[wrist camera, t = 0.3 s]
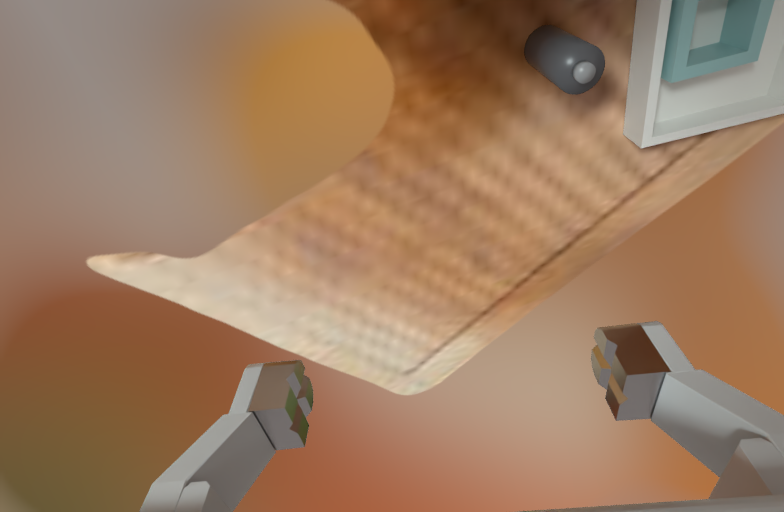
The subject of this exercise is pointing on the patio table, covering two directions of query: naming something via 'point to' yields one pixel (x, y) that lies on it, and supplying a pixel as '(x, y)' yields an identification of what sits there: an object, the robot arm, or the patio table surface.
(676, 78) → the walled box
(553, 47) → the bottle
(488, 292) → the patio table surface
